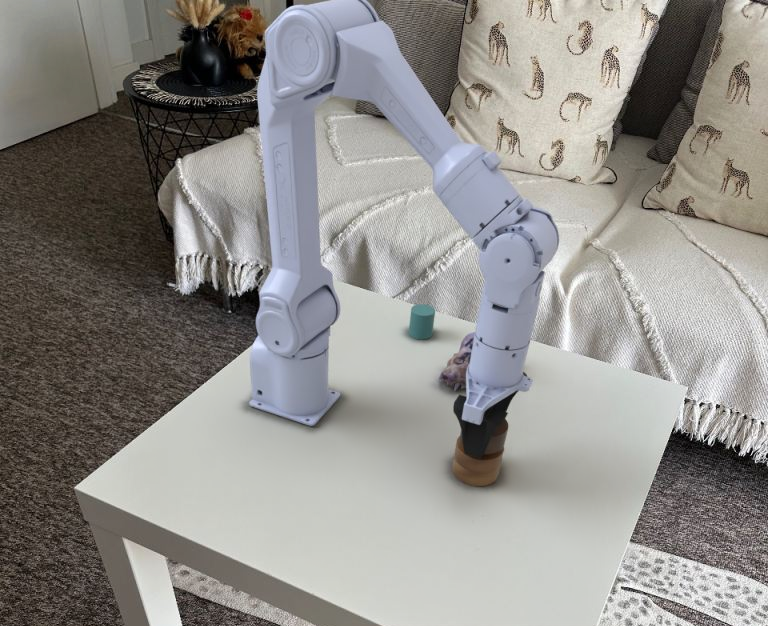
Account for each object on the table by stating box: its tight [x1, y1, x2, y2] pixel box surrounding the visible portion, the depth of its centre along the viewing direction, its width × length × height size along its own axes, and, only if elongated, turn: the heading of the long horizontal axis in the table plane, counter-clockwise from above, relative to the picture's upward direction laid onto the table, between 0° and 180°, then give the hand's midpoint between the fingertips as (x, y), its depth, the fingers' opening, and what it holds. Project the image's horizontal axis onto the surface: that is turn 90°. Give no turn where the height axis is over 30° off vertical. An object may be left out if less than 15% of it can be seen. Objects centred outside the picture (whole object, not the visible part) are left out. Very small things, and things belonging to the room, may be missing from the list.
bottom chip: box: [451, 456, 501, 487], centre depth 85 cm, size 6×6×2 cm
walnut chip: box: [459, 418, 509, 454], centre depth 81 cm, size 5×5×2 cm
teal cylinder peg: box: [408, 303, 436, 341], centre depth 107 cm, size 4×4×4 cm
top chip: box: [453, 435, 505, 473], centre depth 83 cm, size 6×6×2 cm
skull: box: [437, 331, 475, 392], centre depth 99 cm, size 12×8×6 cm, turn 129°
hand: (481, 440), depth 82 cm, fingers closed on walnut chip, 5 cm apart
